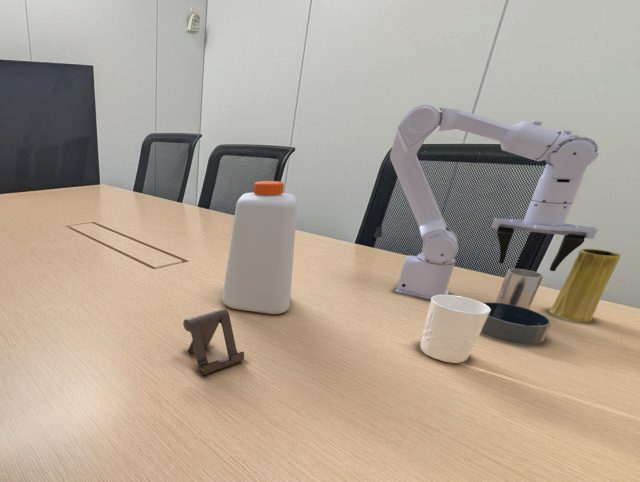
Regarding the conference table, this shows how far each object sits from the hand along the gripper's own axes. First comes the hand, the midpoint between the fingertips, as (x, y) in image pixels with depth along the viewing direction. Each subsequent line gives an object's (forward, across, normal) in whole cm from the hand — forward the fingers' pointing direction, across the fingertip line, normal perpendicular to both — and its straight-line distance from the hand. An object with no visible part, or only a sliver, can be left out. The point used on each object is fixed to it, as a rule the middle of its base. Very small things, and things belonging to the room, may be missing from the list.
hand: (525, 265), depth 80 cm
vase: (+10, +9, +4) cm, 14 cm away
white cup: (+10, -7, -32) cm, 34 cm away
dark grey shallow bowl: (+10, 0, -14) cm, 17 cm away
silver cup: (+10, 0, -1) cm, 10 cm away
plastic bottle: (+10, -43, -34) cm, 56 cm away
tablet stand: (+10, -36, -63) cm, 73 cm away
